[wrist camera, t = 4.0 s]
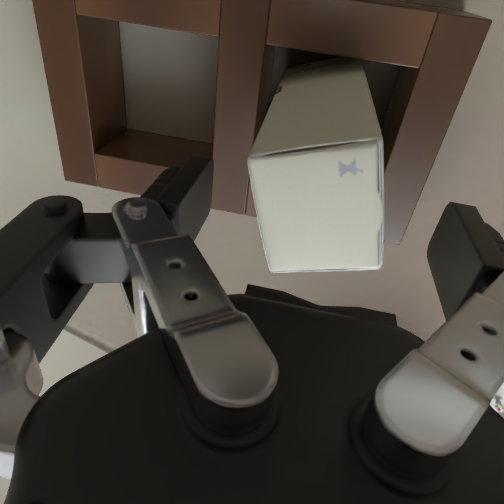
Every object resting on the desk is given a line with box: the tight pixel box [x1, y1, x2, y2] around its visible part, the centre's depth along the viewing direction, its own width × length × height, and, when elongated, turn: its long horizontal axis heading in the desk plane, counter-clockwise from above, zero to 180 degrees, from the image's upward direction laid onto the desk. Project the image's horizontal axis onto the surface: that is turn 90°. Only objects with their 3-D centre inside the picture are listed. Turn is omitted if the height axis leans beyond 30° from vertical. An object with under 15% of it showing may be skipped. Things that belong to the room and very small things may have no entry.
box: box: [247, 57, 385, 273], centre depth 18 cm, size 5×4×13 cm
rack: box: [32, 0, 492, 245], centre depth 22 cm, size 21×11×4 cm, turn 84°
